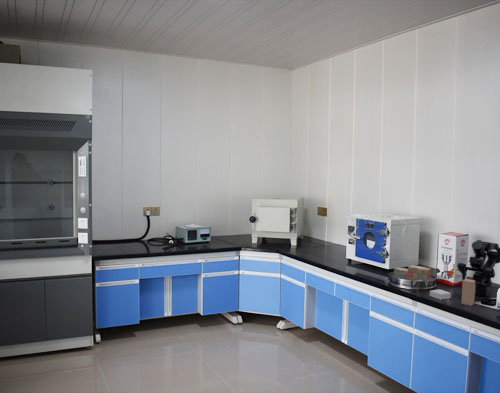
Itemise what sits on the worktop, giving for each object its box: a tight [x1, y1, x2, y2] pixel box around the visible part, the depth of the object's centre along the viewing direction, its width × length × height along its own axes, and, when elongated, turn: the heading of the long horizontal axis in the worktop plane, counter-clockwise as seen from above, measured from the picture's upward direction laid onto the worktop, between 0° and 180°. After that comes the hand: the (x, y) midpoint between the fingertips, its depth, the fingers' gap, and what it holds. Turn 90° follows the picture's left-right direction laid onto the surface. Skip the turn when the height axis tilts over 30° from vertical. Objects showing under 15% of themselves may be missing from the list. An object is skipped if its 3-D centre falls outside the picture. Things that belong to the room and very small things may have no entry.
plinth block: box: [429, 289, 452, 300], centre depth 258 cm, size 8×8×3 cm
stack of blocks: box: [393, 264, 432, 290], centre depth 282 cm, size 21×6×12 cm, turn 49°
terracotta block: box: [461, 278, 476, 307], centre depth 246 cm, size 5×5×13 cm
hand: (471, 282), depth 249 cm, fingers open, 9 cm apart
